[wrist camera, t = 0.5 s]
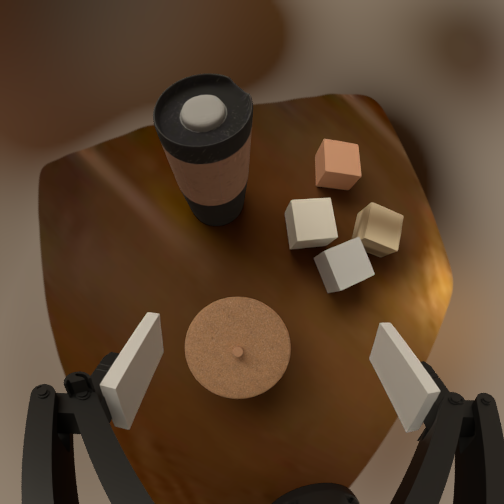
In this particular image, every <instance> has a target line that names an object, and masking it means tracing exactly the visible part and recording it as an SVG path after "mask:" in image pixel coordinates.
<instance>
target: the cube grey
mask: <svg viewBox="0 0 504 504" xmlns="http://www.w3.org/2000/svg"><path fill="white" fill-rule="evenodd" d="M314 261H315V263H316V266H317V268H318V270H319V273H320V275H321V278H322V280H323V283H324V285H325V288H326V290H327V293H332V292H337V291H341V290H344V289H346V288H348V287H350V286H352V285H354V284H356V283H358V282H361V281H363V280H365V279H367V278H369V277H371V276H373V275H375V273H374V271H373V268H372V266H371V263H370V261H369V258H368V256H367V254H366V251H365V249H364V246H363V244H362V242H361V239H360V237H357V238H354V239H352V240H349V241H347V242H345V243H342V244H340V245H337V246H335V247H332V248H330V249H328V250H325V251H323V252H322V253H320V254H319V255H317V256H316V257H314Z"/></svg>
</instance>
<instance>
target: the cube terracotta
mask: <svg viewBox="0 0 504 504" xmlns="http://www.w3.org/2000/svg"><path fill="white" fill-rule="evenodd" d="M315 166H316V186H318V187H326V188H334V189H341V190H350V188H351V187H352V186H353V185H354V184H355V183H356V182H357V181H358V180H359V179H360V177H361V167H360V157H359V148H358V144H352V143H347V142H341V141H335V140H329V139H323V141H322V143H321V145H320V147H319V149H318V151H317V153H316V155H315Z"/></svg>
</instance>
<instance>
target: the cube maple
mask: <svg viewBox="0 0 504 504" xmlns="http://www.w3.org/2000/svg"><path fill="white" fill-rule="evenodd" d="M402 222H403V215H400V214H398V213H396V212H394V211H391V210H389V209H387V208H385V207H382V206H380V205H378V204H375V203H373V202H371V203H370V204H369V205H368V206H366V207H365V208H364V209H363V210H361V211H360V212H359V213H358V214H357V218H356V223H355V227H354V232H353V236H352V239H354V238H357V237H360V239H361V242H362V244H363V246H364V249H365V251H366V252H367V253H370V254H372V255H375V256H378V257H380V258H381V257H384V256H386V255H389V254H391V253H394V252H396V251H398V247H399V241H400V235H401V229H402Z"/></svg>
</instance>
